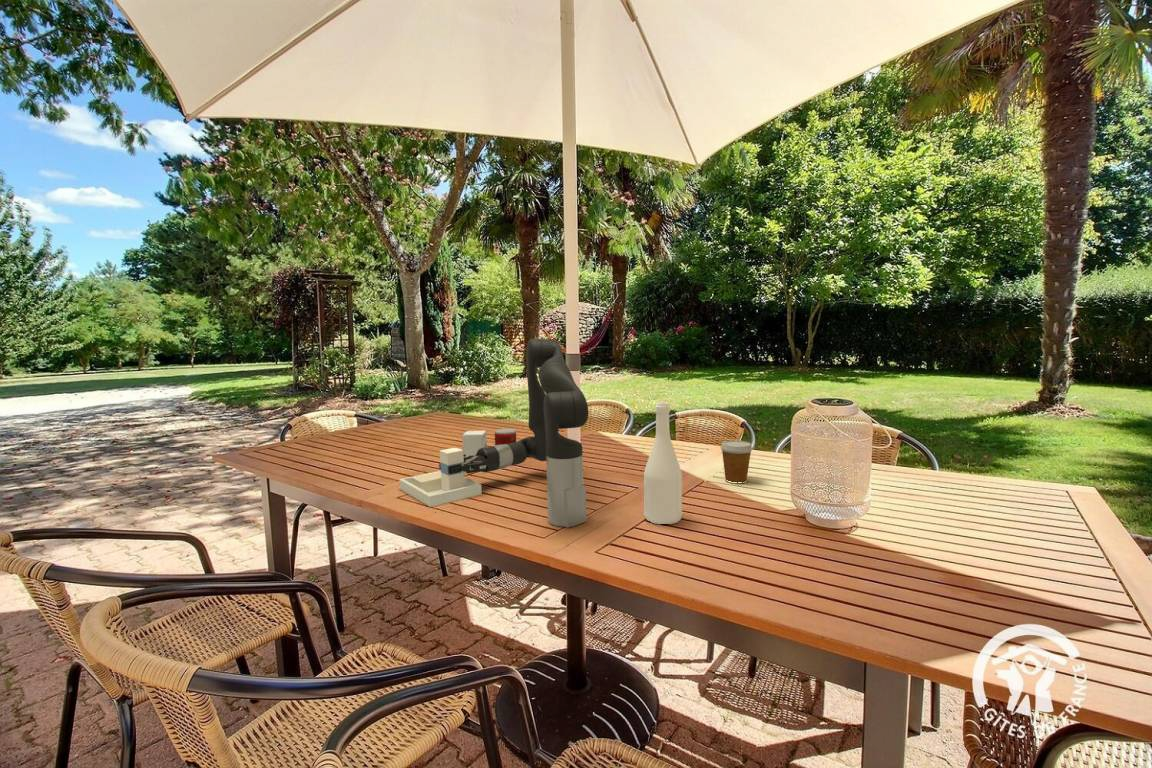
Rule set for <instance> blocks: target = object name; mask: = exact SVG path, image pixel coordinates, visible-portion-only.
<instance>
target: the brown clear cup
mask: <svg viewBox="0 0 1152 768" xmlns="http://www.w3.org/2000/svg"><path fill="white" fill-rule="evenodd" d="M720 449H721V453H722V460H723V462H722V463H723V470H724V477H725V479H726V480H728V481H731V482H737V483H738V482H745V481H746V480H748V473H749V466H750V459H751V452H752V451H753V447H752V444H751V443H750V442H748V441H745V440H733V439H732V440H725V441H722V443H721V446H720ZM726 480H725V481H726ZM746 482H747V481H746Z"/></svg>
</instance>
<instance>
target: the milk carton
mask: <svg viewBox="0 0 1152 768" xmlns="http://www.w3.org/2000/svg"><path fill="white" fill-rule="evenodd" d="M439 460H440V462H439V463H440V466H441V470H440V471H441V480H442V490H443V491H445V492H446V491H450V490H454V489H458V488H463V487H465V477H466V475H465V472H464V473H462V472H459V473H454V474H448V467H449V466H454V465H458V464H460V466H461V464H462V463H464V457H463V449H461V448H457V447H452V448H446V449H442V450H439Z"/></svg>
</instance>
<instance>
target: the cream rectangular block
mask: <svg viewBox="0 0 1152 768" xmlns="http://www.w3.org/2000/svg"><path fill="white" fill-rule="evenodd" d="M435 472H436V473H432V472H430V473H431V474H427V473H425V474H426V475H423V474H420V475H421V476H418V475H416V476H417V477H413V476H411V477H412V484H413V485H415V486H417V487H418V488H420V489H422V490H424V491H426V492H427V493H428V492H433V491H437V490H441V489H442V480H441V472H437V471H435Z"/></svg>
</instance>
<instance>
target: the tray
mask: <svg viewBox="0 0 1152 768" xmlns="http://www.w3.org/2000/svg"><path fill="white" fill-rule="evenodd" d="M436 472H441V470H438V471H434V472H429V473H424V474H418V475H413V476H409V477H404V478H403V477H402V478H399V479H398V482H399V490H401V491H402V492H404V493H405V494H407V495H409V496H411V497H412V498H414V499H416V500H417V501H419V502H421V503H422V504H424V505H425V506H427V507H429V508H432V507H436V506H440V505H445V504H448V503H453V502H457V501H461V500H465V499H468V498H472V497H473V498H474V497H476V496H480V495H481V496H482V495H483V493H482V484H481V483H480V482H478V481H475V480H473V479H470V478H468V477H466V476H465V487H463V488H458V489H454V490H450V491H446V492H445V491H443V490H442V489H441V490H437V491H433V492H428V493H427V492H426V491H424V490H422V489H420V488H418V487H417V486H415V485H413V484H412V477H417V476H421V475H426V474H431V473H436Z"/></svg>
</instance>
